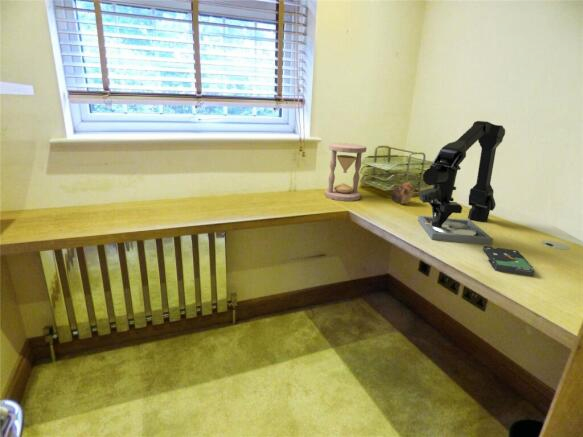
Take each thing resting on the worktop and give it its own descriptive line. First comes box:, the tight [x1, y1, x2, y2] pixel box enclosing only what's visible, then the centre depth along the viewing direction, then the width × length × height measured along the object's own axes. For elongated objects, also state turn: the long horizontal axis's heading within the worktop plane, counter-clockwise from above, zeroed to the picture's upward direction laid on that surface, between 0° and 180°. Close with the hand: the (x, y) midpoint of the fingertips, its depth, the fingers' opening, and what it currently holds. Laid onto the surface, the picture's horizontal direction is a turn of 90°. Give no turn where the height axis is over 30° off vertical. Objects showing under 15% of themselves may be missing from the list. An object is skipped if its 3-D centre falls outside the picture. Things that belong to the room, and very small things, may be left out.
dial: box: [429, 212, 477, 236], centre depth 128 cm, size 16×16×7 cm
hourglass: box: [324, 142, 367, 202], centre depth 168 cm, size 18×18×25 cm
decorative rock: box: [391, 180, 415, 205], centre depth 165 cm, size 12×6×11 cm, turn 16°
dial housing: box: [417, 215, 493, 246], centre depth 129 cm, size 20×20×3 cm
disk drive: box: [482, 245, 536, 278], centre depth 107 cm, size 10×3×15 cm
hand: (437, 223), depth 128 cm, fingers open, 4 cm apart
